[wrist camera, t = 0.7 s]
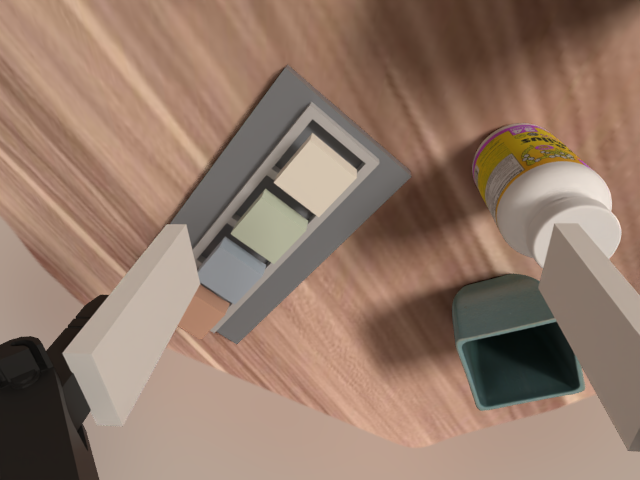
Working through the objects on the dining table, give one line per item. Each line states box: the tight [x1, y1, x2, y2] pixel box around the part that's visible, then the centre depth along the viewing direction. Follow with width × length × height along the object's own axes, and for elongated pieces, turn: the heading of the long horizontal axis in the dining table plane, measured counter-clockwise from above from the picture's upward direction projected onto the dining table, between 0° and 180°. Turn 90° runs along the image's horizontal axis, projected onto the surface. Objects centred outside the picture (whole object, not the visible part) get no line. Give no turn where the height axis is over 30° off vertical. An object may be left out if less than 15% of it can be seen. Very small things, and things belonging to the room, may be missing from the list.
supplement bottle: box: [472, 123, 621, 268], centre depth 30 cm, size 7×7×13 cm
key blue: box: [197, 237, 266, 305], centre depth 39 cm, size 4×4×2 cm
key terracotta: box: [178, 284, 230, 340], centre depth 41 cm, size 4×4×2 cm
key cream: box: [274, 133, 357, 217], centre depth 33 cm, size 4×4×2 cm
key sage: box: [231, 189, 308, 264], centre depth 36 cm, size 4×4×2 cm
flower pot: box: [452, 274, 585, 411], centre depth 39 cm, size 9×9×9 cm
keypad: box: [170, 65, 412, 344], centre depth 40 cm, size 13×26×2 cm, turn 141°
